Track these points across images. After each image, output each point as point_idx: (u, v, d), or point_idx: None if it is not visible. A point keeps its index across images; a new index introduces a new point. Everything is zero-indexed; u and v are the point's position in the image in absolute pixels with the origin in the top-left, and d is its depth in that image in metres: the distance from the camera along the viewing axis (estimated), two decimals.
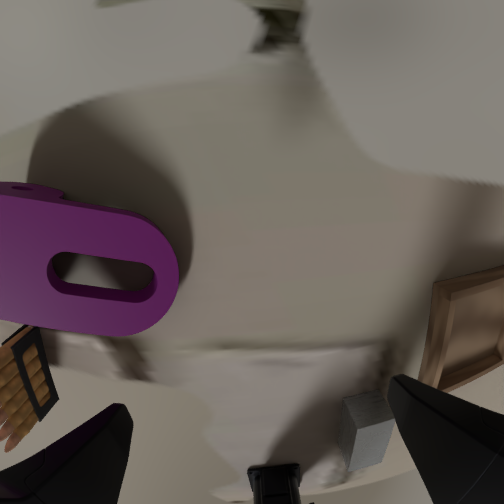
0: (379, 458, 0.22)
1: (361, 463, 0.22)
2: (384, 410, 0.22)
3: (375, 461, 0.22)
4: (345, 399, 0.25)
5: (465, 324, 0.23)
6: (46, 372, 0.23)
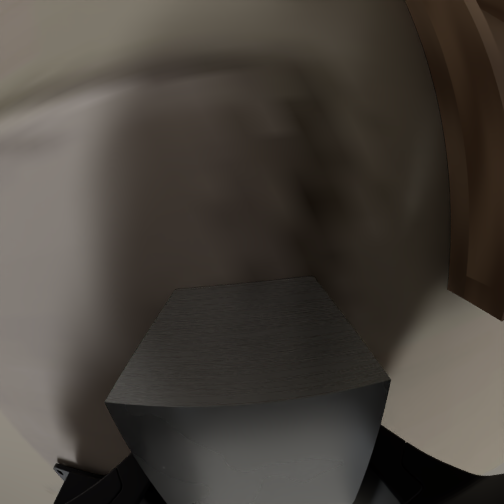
0: None
1: None
2: (321, 337, 0.05)
3: None
4: (177, 294, 0.08)
5: None
6: None
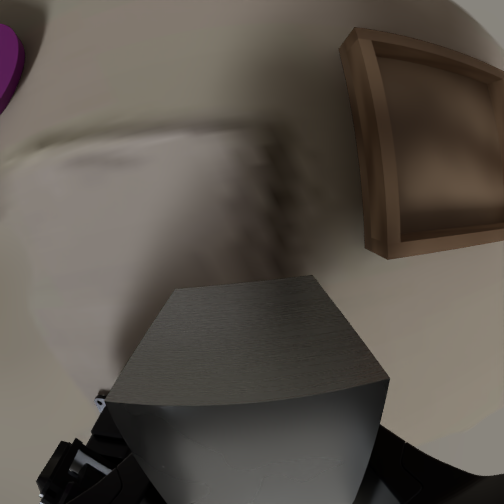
0: None
1: None
2: (320, 336, 0.05)
3: None
4: (176, 293, 0.08)
5: (428, 126, 0.14)
6: None
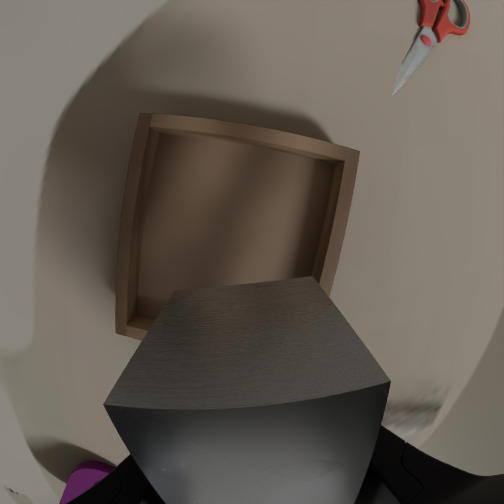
0: None
1: None
2: (321, 338, 0.05)
3: None
4: (176, 295, 0.08)
5: (207, 268, 0.18)
6: None
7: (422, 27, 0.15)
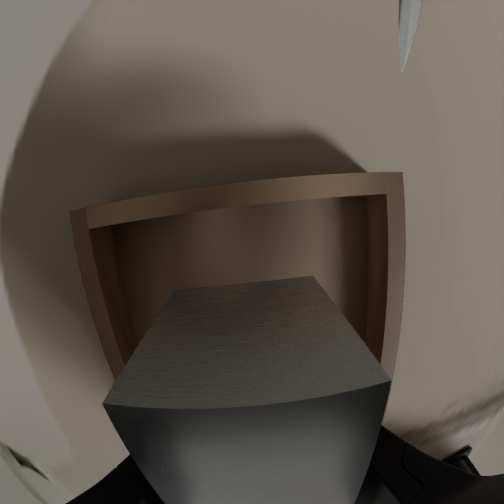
0: None
1: None
2: (321, 338, 0.05)
3: None
4: (176, 294, 0.08)
5: None
6: None
7: None
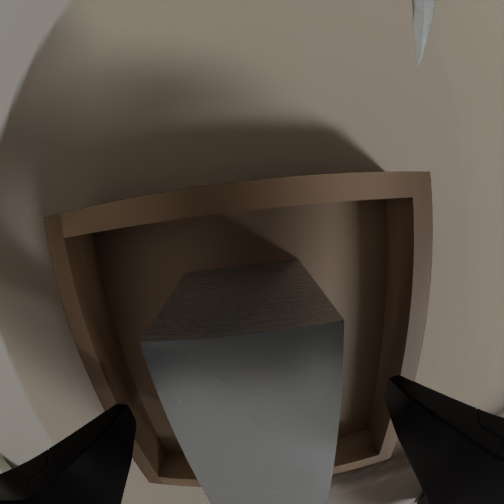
0: (314, 492, 0.07)
1: (251, 501, 0.07)
2: (297, 297, 0.07)
3: (306, 501, 0.07)
4: (187, 275, 0.10)
5: None
6: None
7: None
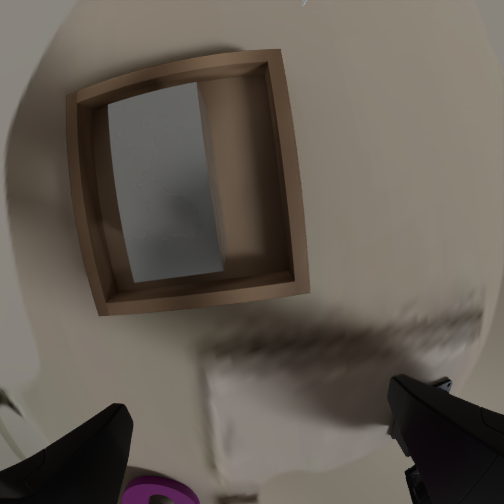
0: (205, 243, 0.12)
1: (157, 251, 0.11)
2: None
3: (201, 260, 0.12)
4: None
5: None
6: None
7: None
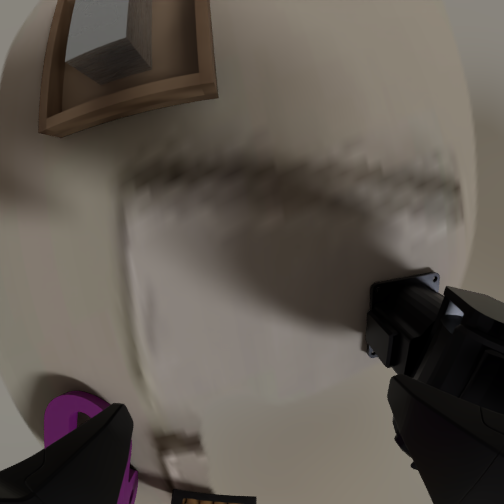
0: (118, 24, 0.10)
1: (86, 37, 0.10)
2: None
3: (113, 34, 0.10)
4: None
5: None
6: (218, 498, 0.25)
7: None
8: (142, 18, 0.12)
